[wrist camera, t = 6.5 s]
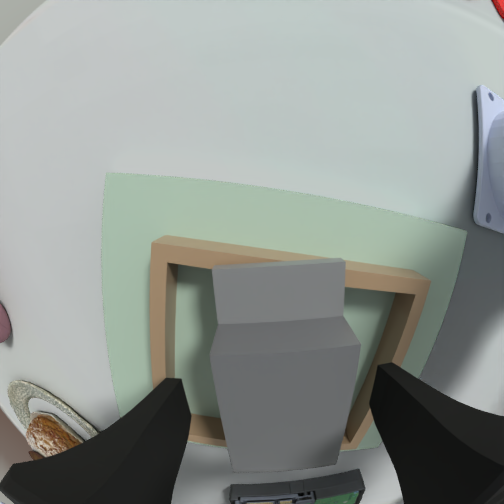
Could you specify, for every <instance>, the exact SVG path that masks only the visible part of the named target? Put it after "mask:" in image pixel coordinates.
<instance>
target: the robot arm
mask: <svg viewBox="0 0 504 504" xmlns="http://www.w3.org/2000/svg"><path fill="white" fill-rule="evenodd" d="M476 91H477V102H478V118H479V161H478V177H477V189H476V198H475V206H474V213H473V217H474V221H475V223H476V224H477V225H480V226H483V227H486V228H489V229H491V230H494V231H497V232H500V233H502V234H504V100H503V99H502V98H501V97H499V96H498V95H497V94H495V93H494V92H493V91H491V90H490V89H488V88H487V87H485V86H484V85H480V86H477V90H476ZM486 215H487V218H486ZM369 406H370V409H371V413H372V416H373V419H374V423H375V425H376V428H377V430H378V432H379V434H380V437H381V439H382V441H383V443H384V445H385V447H386V450H387V452H388V454H389V456H390V458H391V461H392V463H393V465H394V468H395V470H396V473H397V476H398V480H399V484H400V487H401V491H402V496H403V500H404V504H504V416H499V415H495V414H491V413H488V412H484V411H481V410H478V409H475V408H473V407H470V406H468V405H465V404H463V403H460V402H458V401H456V400H454V399H452V398H450V397H448V396H446V395H444V394H443V393H441V392H439V391H437V390H436V389H434V388H432V387H431V386H429V385H427V384H426V383H424V382H422V381H421V380H419V379H418V378H416V377H415V376H413V375H412V374H410V373H409V372H407V371H405V370H404V369H402V368H401V367H399V366H398V365H396V364H394V363H392V362H390V363H385V364H380V365H378V366H377V370H376V375H375V380H374V384H373V389H372V393H371V397H370V401H369ZM191 417H192V415H191V412H190V408H189V405H188V401H187V398H186V394H185V390H184V386H183V382H182V379H181V378H165V379H164V380H163V381H162V382H161V383H160V384H159V385H158V386H156V387H155V388H154V389H153V390H152V391H151V392H150V393H149V394H148V395H147V396H146V397H145V398H144V399H143V400H142V401H140V402H139V403H138V404H137V405H136V406H135V407H134V408H133V409H131V410H130V411H129V412H128V413H127V414H125V415H124V416H123V417H121V418H120V419H119V420H118V421H116V422H115V423H114V424H112V425H111V426H110V427H108V428H107V429H105V430H104V431H102V432H101V433H99V434H97V435H96V436H94V437H92V438H91V439H89V440H87V441H85V442H83V443H81V444H79V445H77V446H75V447H72V448H70V449H68V450H66V451H63V452H60V453H58V454H55V455H52V456H49V457H45V458H42V459H38V460H33V461H28V462H23V463H16V464H13V465H12V466H11V468H10V470H9V471H8V472H7V474H6V475H5V476H4V478H3V480H2V481H1V483H0V491H1V492H2V493H3V494H4V495H5V496H6V497H7V498H9V499H10V500H11V501H12V502H13V503H14V504H171V500H172V494H173V489H174V485H175V481H176V477H177V474H178V471H179V468H180V464H181V461H182V458H183V454H184V451H185V448H186V444H187V441H188V437H189V431H190V424H191ZM0 504H4V503H3V502H1V503H0Z"/></svg>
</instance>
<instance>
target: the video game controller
mask: <svg viewBox="0 0 504 504" xmlns="http://www.w3.org/2000/svg"><path fill="white" fill-rule="evenodd" d="M10 332H11V326H10V321H9V318H8V316H7V313H6V311H5V310H4V308H3V307H2V305H1V304H0V343H2V342H4V341H5V340H7V339H8V337H9V335H10Z"/></svg>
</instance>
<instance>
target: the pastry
mask: <svg viewBox="0 0 504 504" xmlns="http://www.w3.org/2000/svg"><path fill="white" fill-rule="evenodd" d="M8 397H9V400H10V404H11V407H12V408H13V410H14V412H15V414H16V416H17V418H18V419H19V421H20V422H21V424H22V425H23V426H24V428H25V429H26V430H27V432H26V439H27V441H28V444H29V446H31V447H32V449H33V451H29V454H30V456H31V457H32V459H33V460H38V459H42V458H45V457H49V456H52V455H55V454H58V453H60V452H63V451H66V450H68V449H70V448H72V447H75V446H77V445H79V444H81V443H83V442H85V441H84V440H83V439H82V438H81V437H80V436H79V435H78V434H77V433H76V432H75V431H74V430H73V429H72V428H71V427H70V426H68V425H67V424H66V423H65V422H64V421H63V420H61V419H60V418H59V417H58V416H57V415H55V414H54V415H53V414H50V413H42V412H33V413H31V414H30V411H29V408H28V402H29V400H30V399H31V398H40V399H43V400H45V401H47V402H49V403H51V404H52V405H54V406H56V407H57V408H59V409H60V410H62V411H63V412H64V413H66V414H67V415H68V416H70V417H71V418H72V419H73V420H75V421H76V422H77V423H78V424H79V425H80V426H81V427H82V428H83V429H84V430H86V431H87V432H88V433H89V435H90V436H91V437H94V436H96V435H97V434H99V432H97V431H96V430H95V429H94V428H93V427H92V426H91V425H90V424H89V423H87V422H86V421H85V420H84V419H82V418H81V417H79V416H78V415H77V414H76V413H75V412H74V410H73V409H72V408H71V407H70V406H68V405H67V404H66V403H65V402H63V401H62V400H61V399H59V398H58V397H56V396H54V395H52V394H51V393H50V392H48V391H45V390H44V389H42V388H40V387H37V386H35V385H33V384H32V383H30V382H24V381H21V380H16V381H12V382H11V383H10V384H9V386H8Z"/></svg>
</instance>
